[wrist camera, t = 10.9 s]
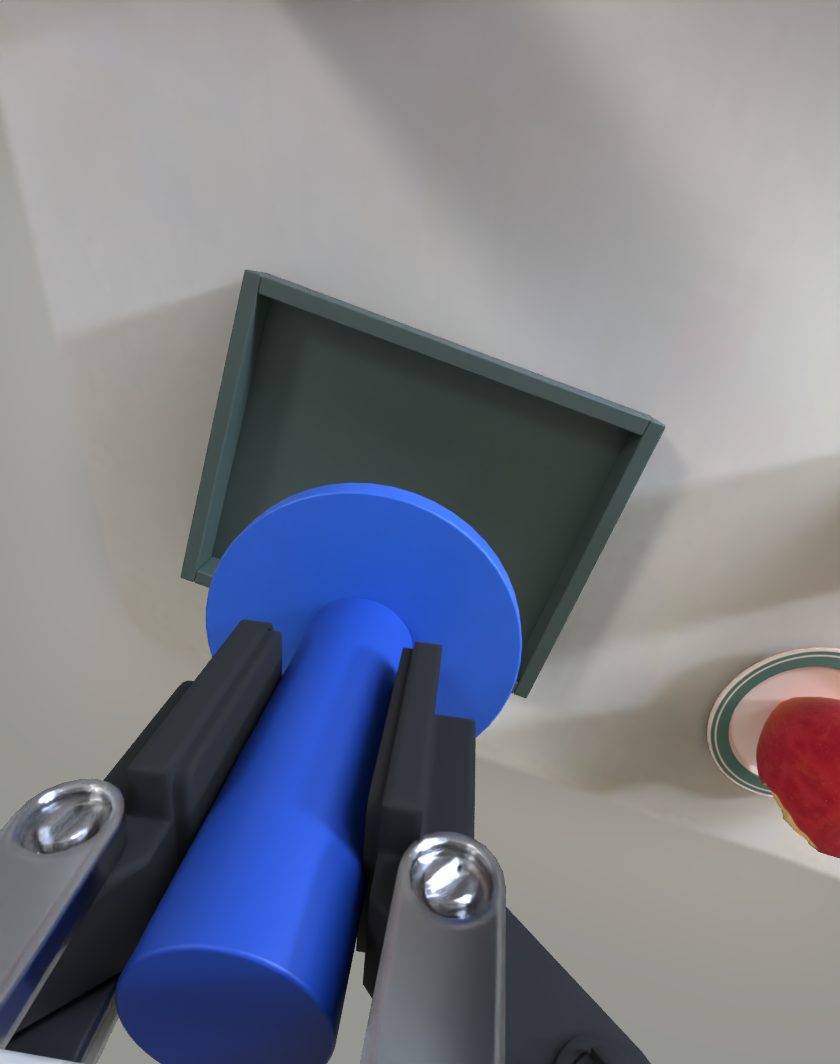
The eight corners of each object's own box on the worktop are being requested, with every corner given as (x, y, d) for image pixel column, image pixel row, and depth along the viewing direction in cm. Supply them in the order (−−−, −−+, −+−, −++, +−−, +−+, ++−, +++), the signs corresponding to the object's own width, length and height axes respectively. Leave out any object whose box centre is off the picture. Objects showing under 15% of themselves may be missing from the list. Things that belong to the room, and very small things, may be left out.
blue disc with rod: (157, 580, 14) (-240, 912, 6) (407, 417, 12) (276, 611, 4) (333, 789, 16) (194, 1247, 8) (576, 677, 14) (698, 1141, 6)
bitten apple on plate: (836, 807, 28) (937, 949, 21) (674, 762, 27) (729, 891, 21) (935, 671, 25) (1085, 790, 19) (753, 619, 24) (845, 722, 18)
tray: (201, 557, 26) (179, 577, 24) (265, 272, 21) (244, 268, 19) (522, 670, 26) (526, 699, 24) (649, 415, 22) (666, 426, 20)
